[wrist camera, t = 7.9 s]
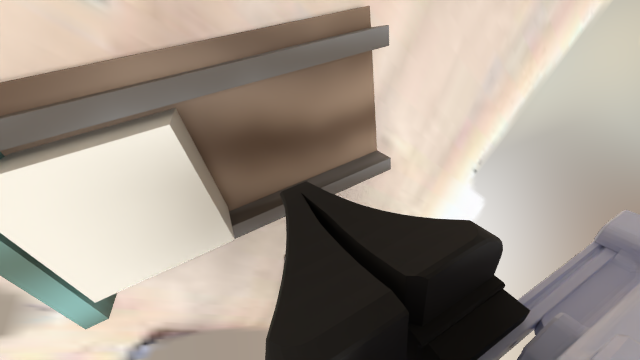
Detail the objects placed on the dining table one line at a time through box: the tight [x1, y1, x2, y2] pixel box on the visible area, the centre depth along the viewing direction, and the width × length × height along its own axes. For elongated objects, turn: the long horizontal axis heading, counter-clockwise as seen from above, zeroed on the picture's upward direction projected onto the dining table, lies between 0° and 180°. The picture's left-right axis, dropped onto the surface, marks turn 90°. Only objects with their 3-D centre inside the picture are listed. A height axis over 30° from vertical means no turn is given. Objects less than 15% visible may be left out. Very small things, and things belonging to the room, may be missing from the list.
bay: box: [0, 6, 391, 329], centre depth 16 cm, size 14×24×5 cm, turn 101°
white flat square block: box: [0, 108, 235, 302], centre depth 14 cm, size 8×8×4 cm
